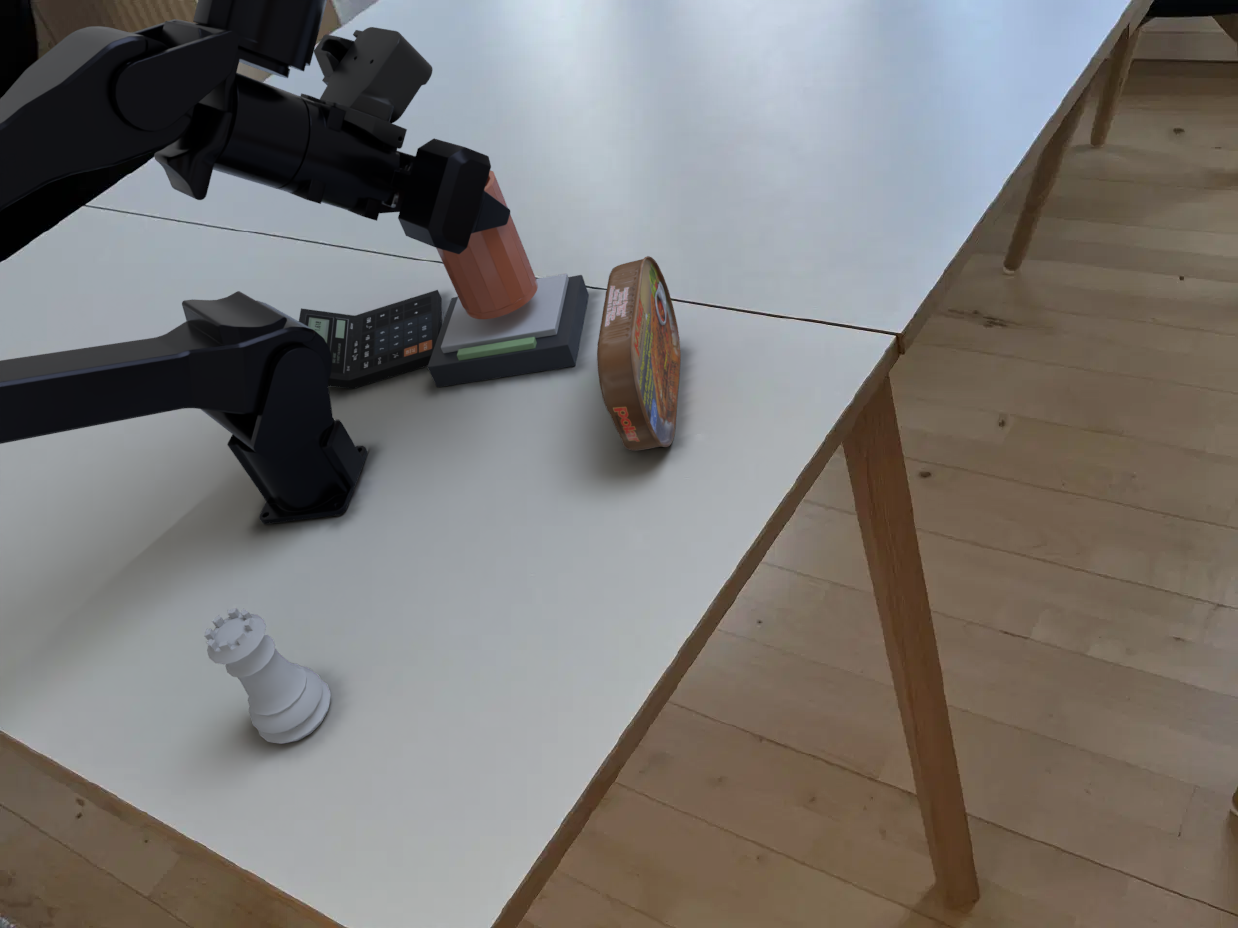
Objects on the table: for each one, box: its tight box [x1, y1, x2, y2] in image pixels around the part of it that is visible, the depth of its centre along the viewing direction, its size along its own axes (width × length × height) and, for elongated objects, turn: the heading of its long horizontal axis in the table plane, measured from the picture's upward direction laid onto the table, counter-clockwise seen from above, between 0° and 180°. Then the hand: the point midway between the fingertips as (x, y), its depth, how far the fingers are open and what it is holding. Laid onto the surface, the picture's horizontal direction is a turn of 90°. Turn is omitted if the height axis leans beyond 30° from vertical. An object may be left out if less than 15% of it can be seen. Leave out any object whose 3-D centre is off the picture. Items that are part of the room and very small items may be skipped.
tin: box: [596, 255, 682, 452], centre depth 70 cm, size 15×3×8 cm, turn 174°
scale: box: [427, 273, 590, 388], centre depth 82 cm, size 11×9×3 cm
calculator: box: [298, 289, 443, 390], centre depth 86 cm, size 9×12×3 cm
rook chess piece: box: [204, 607, 332, 744], centre depth 58 cm, size 4×4×8 cm
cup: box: [435, 169, 538, 319], centre depth 77 cm, size 6×6×9 cm
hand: (481, 208), depth 76 cm, fingers closed on cup, 6 cm apart
